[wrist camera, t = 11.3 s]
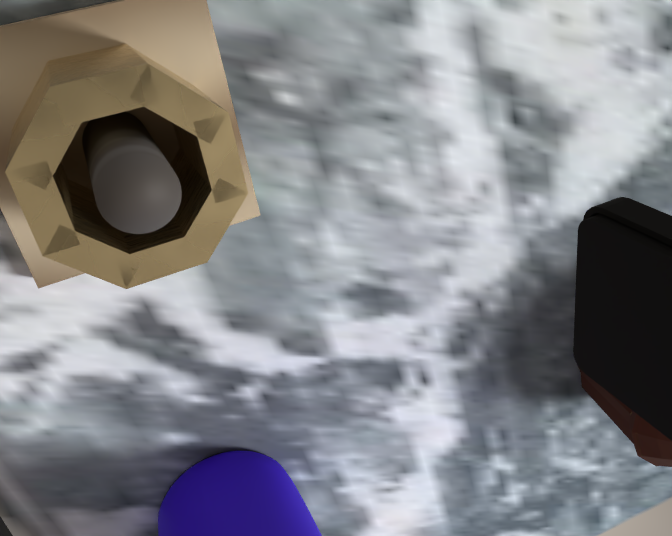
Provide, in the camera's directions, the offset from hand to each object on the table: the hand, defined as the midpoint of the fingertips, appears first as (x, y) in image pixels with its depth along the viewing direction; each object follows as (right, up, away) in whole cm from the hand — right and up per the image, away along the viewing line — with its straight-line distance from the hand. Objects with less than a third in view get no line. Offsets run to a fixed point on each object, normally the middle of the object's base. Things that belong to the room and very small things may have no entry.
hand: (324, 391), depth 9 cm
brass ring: (-9, +7, +16) cm, 20 cm away
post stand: (-9, +7, +17) cm, 21 cm away
